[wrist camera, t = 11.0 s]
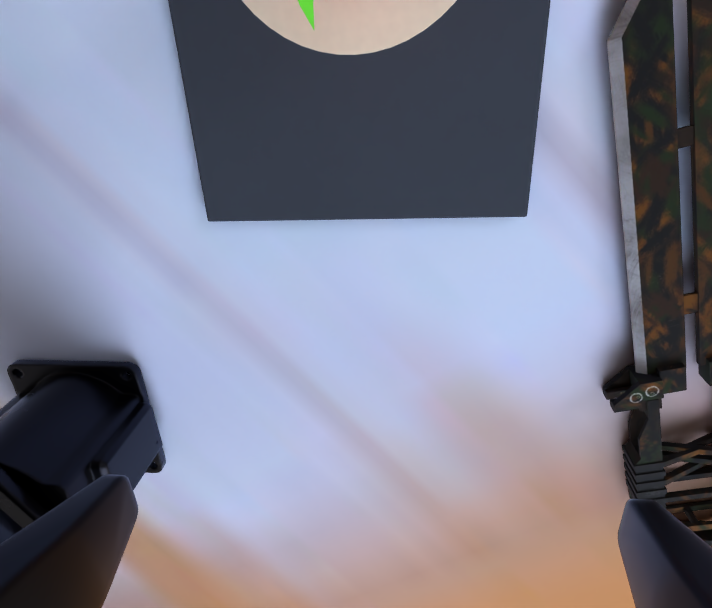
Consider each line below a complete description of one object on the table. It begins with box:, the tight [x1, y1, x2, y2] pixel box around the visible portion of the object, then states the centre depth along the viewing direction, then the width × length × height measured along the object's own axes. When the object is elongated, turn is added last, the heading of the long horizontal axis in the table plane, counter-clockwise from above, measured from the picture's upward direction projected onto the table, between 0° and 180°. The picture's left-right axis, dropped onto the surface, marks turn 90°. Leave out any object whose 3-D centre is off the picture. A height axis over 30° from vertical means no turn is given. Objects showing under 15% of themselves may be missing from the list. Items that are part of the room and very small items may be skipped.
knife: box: [603, 0, 712, 548], centre depth 19 cm, size 25×6×1 cm, turn 12°
